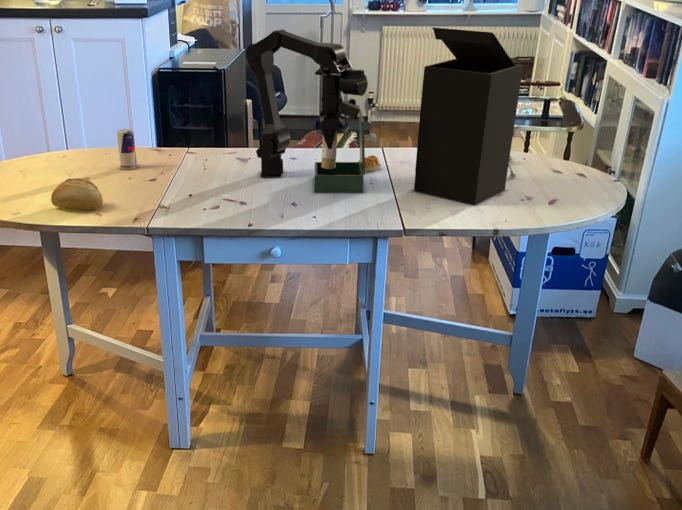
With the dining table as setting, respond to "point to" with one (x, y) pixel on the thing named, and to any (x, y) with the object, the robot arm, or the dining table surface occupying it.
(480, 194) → the trash bin
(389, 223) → the dining table surface
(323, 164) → the sprinkles bottle
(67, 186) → the bread roll
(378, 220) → the dining table surface
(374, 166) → the pastry
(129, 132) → the energy drink
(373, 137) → the lid
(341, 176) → the caddy
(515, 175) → the soupspoon
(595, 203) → the dining table surface
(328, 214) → the dining table surface
